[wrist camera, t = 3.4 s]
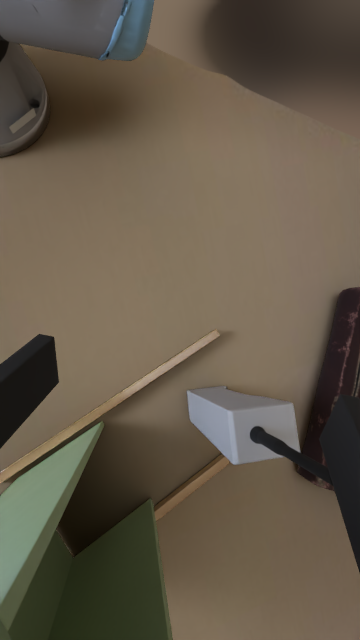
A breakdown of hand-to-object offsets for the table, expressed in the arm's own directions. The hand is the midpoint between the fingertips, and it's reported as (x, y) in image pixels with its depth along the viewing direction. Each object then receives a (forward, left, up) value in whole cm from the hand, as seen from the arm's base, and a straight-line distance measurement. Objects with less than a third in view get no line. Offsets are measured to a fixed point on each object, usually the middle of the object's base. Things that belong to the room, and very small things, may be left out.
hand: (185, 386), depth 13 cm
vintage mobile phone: (+7, +4, -24) cm, 25 cm away
